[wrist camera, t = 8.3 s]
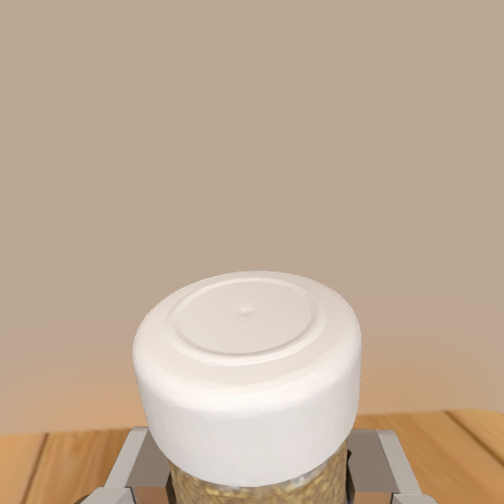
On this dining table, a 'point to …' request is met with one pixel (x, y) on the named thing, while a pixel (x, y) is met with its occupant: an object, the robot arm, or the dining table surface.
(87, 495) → the balance
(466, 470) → the dining table surface
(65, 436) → the dining table surface
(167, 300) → the spice jar
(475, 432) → the dining table surface
